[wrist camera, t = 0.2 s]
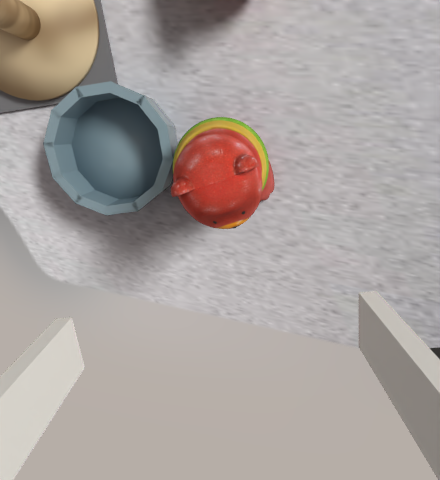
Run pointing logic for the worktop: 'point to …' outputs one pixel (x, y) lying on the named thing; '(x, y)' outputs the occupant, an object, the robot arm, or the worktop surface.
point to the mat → (98, 74)
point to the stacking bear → (221, 172)
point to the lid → (46, 46)
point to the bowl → (110, 148)
